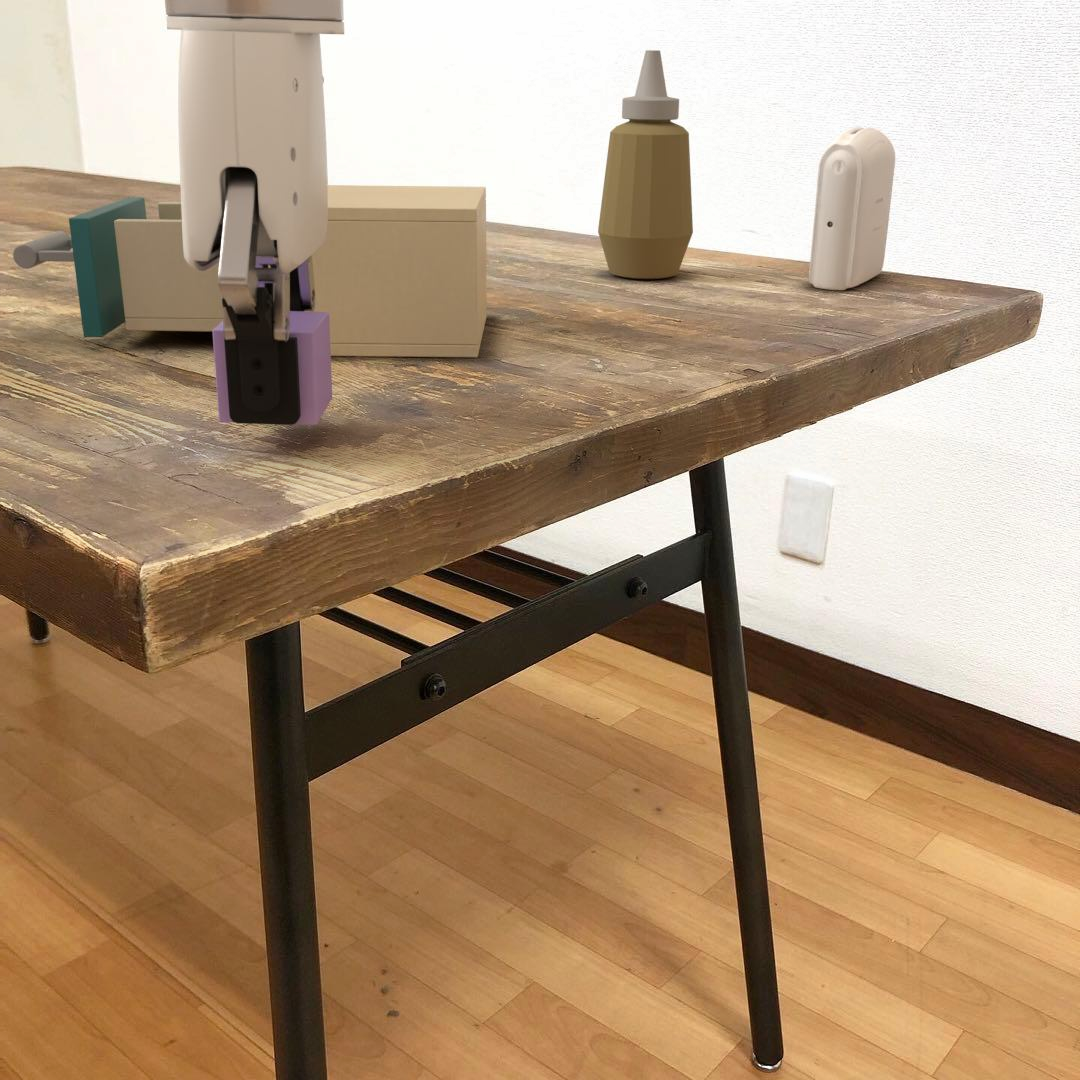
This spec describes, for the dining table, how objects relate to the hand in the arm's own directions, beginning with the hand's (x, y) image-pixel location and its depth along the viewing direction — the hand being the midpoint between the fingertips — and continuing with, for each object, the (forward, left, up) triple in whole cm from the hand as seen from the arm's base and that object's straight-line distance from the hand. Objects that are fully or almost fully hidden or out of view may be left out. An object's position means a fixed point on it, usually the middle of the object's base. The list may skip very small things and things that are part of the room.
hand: (277, 402), depth 60 cm
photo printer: (+38, +47, -2) cm, 61 cm away
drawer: (-12, +24, -1) cm, 27 cm away
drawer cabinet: (+1, +24, -2) cm, 24 cm away
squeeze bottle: (+21, +49, -2) cm, 54 cm away
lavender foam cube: (0, 0, 0) cm, 0 cm away
